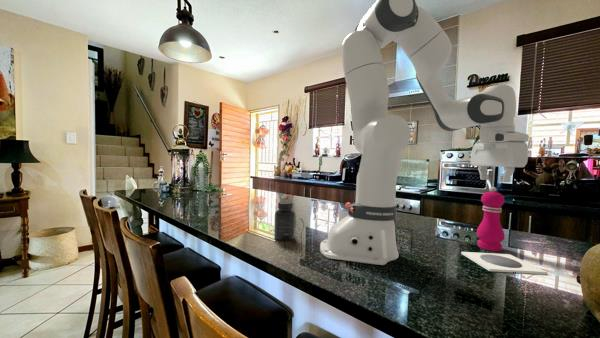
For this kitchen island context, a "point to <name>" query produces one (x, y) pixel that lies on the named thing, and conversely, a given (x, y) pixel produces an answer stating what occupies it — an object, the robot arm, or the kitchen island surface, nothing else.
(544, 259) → the kitchen island surface
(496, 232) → the pepper mill
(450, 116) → the robot arm
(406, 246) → the kitchen island surface
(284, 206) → the supplement bottle
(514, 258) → the white coaster
